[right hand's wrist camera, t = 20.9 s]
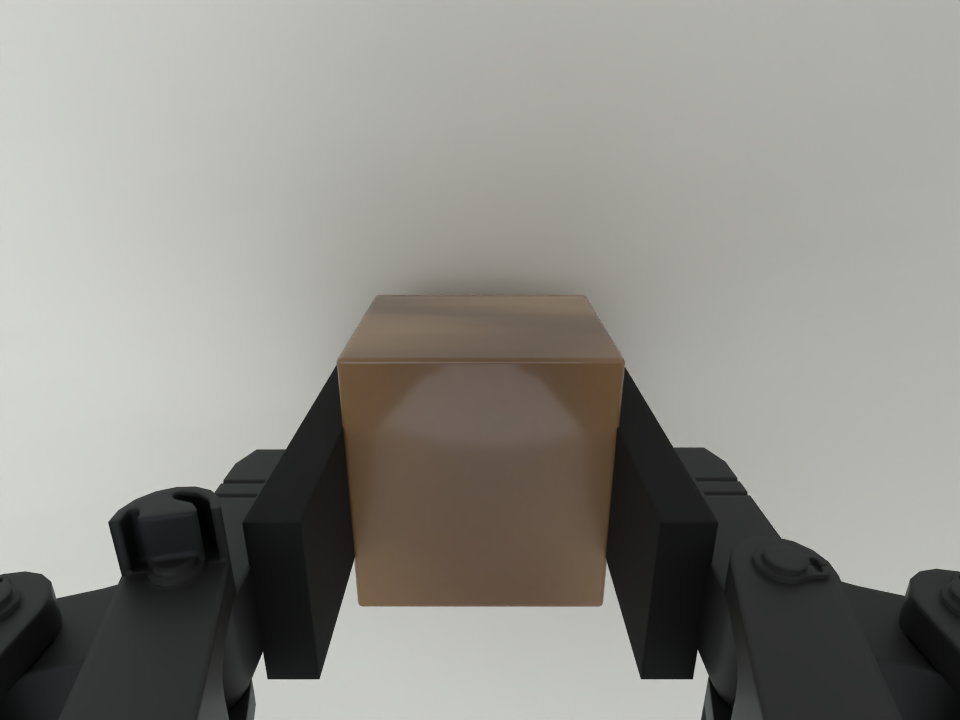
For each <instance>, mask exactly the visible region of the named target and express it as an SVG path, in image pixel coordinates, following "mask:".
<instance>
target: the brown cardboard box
mask: <svg viewBox="0 0 960 720" xmlns="http://www.w3.org/2000/svg"><path fill="white" fill-rule="evenodd" d="M624 368H625V361H624V358H623V357H622V355H621V354H620V352H619V350H618V349H617V347H616V345H615V344H614V342H613V341H612V339H611V337H610V336H609V334H608V332H607V331H606V329H605V328H604V326H603V324H602V323H601V321H600V319H599V318H598V316H597V315H596V313H595V311H594V310H593V308H592V306H591V305H590V303H589V302H588V300H587V298H586V297H585V296H583V295H378V296H376V297H375V299H374V300H373V302H372V304H371V305H370V307H369V309H368V310H367V312H366V314H365V315H364V317H363V318H362V320H361V322H360V323H359V325H358V327H357V328H356V330H355V332H354V333H353V335H352V337H351V338H350V340H349V342H348V343H347V345H346V347H345V348H344V350H343V351H342V353H341V355H340V356H339V358H338V360H337V369H338V381H339V392H340V403H341V414H342V426H343V430H344V442H345V453H346V464H347V475H348V486H349V498H350V509H351V520H352V531H353V543H354V554H355V558H354V561H355V572H356V584H357V595H358V603H359V605H360V606H601V605H602V603H603V597H604V586H605V575H606V564H607V560H606V548H607V537H608V526H609V515H610V504H611V493H612V482H613V470H614V459H615V448H616V437H617V428H618V427H619V422H620V412H621V401H622V390H623V379H624Z"/></svg>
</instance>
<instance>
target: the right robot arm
mask: <svg viewBox="0 0 960 720" xmlns="http://www.w3.org/2000/svg"><path fill="white" fill-rule="evenodd" d="M108 523H109V527H110V531H111V535H112V539H113V543H114V547H115V551H116V555H117V558H118V562H119V566H120V570H121V574H122V577H121V579H120V581H119V584H118V585H115V586H111V587H107V588H104V589H99V590H95V591H90V592H85V593H80V594H76V595H71V596H66V597H62V598H57V599H56V596H55V593H54V590H53V586H52V583H51V581H50V580H48V579H47V578H46V577H45V576H43V575H42V574H38V573H31V572H17V573H9V574H2V575H0V720H254V715H255V706H256V703H255V696H254V689H253V683H252V677H253V674H254V672H255V669H256V667H257V665H258V662H259V660H260V657H261V655H262V652H263V654H264V660H265V666H266V672H267V678H268V679H320V675H321V672H322V669H323V665H324V662H325V658H326V655H327V651H328V648H329V644H330V641H331V638H332V634H333V631H334V627H335V624H336V620H337V617H338V613H339V610H340V607H341V603H342V600H343V596H344V593H345V589H346V586H347V582H348V579H349V576H350V572H351V569H352V565H353V562H354V558H355V554H354V543H353V531H352V520H351V509H350V498H349V486H348V475H347V464H346V453H345V442H344V430H343V426H342V414H341V403H340V392H339V381H338V369H337V365H336V367H335V369H334V370H333V372H332V374H331V375H330V377H329V379H328V380H327V382H326V384H325V385H324V387H323V389H322V390H321V392H320V394H319V395H318V397H317V399H316V400H315V402H314V404H313V405H312V407H311V409H310V410H309V412H308V414H307V415H306V417H305V419H304V420H303V422H302V424H301V425H300V427H299V429H298V430H297V432H296V434H295V435H294V437H293V439H292V440H291V442H290V444H289V445H288V447H287V449H286V450H255V451H254V452H252V453H251V454H249V455H248V456H246V457H245V458H243V459H242V460H240V461H239V462H237V463H236V464H235V465H234V467H233V468H232V469H231V471H230V472H229V473H228V475H227V476H226V478H225V479H224V482H223V484H220V486H219V487H218V489H217V490H216V491H215V493H214V492H212V491H211V490H208V489H203V488H199V487H175V488H170V489H165V490H161V491H156V492H153V493H151V494H148V495H146V496H143V497H140V498H138V499H135V500H134V501H132V502H131V503H129V504H128V505H126V506H124V507H123V508H121V509H120V510H118V512H117V513H116V514H115V515H114V516H113V517H112V518H111V520H110V521H109V522H108ZM606 560H607V564H608V567H609V571H610V574H611V577H612V581H613V584H614V588H615V591H616V595H617V598H618V602H619V605H620V608H621V612H622V615H623V619H624V622H625V626H626V629H627V633H628V636H629V639H630V643H631V646H632V650H633V653H634V657H635V660H636V664H637V667H638V670H639V674H640V677H641V679H693V675H694V669H695V662H696V656H697V650H698V651H699V653H700V656H701V658H702V660H703V663H704V665H705V668H706V670H707V672H708V675H709V678H708V683H707V689H706V695H705V700H704V706H703V712H702V717H701V720H960V572H958V571H950V570H941V569H932V570H926V571H920V572H918V573H917V574H916V575H915V576H914V577H912V578H911V579H910V582H909V585H908V588H907V592H906V595H905V596H902V595H897V594H893V593H888V592H883V591H878V590H874V589H869V588H864V587H860V586H856V585H852V584H848V583H845V582H841V580H840V578H839V576H838V574H837V573H836V571H835V570H834V569H833V567H832V566H831V565H830V563H829V562H828V561H827V560H825V559H824V558H823V557H821V556H820V555H819V554H817V553H816V552H815V551H813V550H811V549H809V548H807V547H805V546H802V545H800V544H798V543H796V542H794V541H790V540H785V539H781V537H780V536H779V535H778V533H777V532H776V531H775V529H774V528H773V526H772V525H771V524H770V522H769V521H768V520H767V518H766V517H765V515H764V514H763V513H762V511H761V510H760V509H759V507H758V506H757V504H756V503H755V502H754V500H753V499H752V498H751V496H748V495H747V491H746V489H745V488H744V487H743V485H742V484H741V483H740V482H738V481H737V477H736V476H735V474H734V473H733V472H732V470H731V469H730V468H729V466H728V465H727V463H726V462H725V461H723V460H722V459H720V458H719V457H717V456H716V455H714V454H713V453H711V452H710V451H708V450H707V449H705V448H673V446H672V445H671V443H670V441H669V440H668V438H667V436H666V435H665V433H664V431H663V430H662V428H661V426H660V425H659V423H658V421H657V420H656V418H655V416H654V415H653V413H652V411H651V410H650V408H649V406H648V405H647V403H646V401H645V400H644V398H643V396H642V395H641V393H640V391H639V390H638V388H637V386H636V385H635V383H634V381H633V380H632V378H631V376H630V375H629V373H628V371H627V370H626V368H624V379H623V390H622V401H621V412H620V422H619V427H618V428H617V437H616V448H615V459H614V470H613V482H612V493H611V504H610V515H609V526H608V537H607V548H606Z"/></svg>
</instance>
